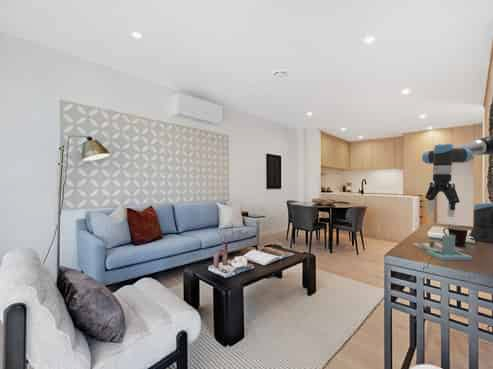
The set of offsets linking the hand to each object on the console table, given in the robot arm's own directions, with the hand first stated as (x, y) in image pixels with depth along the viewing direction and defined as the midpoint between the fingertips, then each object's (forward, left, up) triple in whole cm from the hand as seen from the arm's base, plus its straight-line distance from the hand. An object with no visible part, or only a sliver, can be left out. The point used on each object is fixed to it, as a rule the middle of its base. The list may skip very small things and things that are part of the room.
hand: (440, 214), depth 126 cm
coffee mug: (-21, -15, -21) cm, 34 cm away
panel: (-1, +4, -21) cm, 22 cm away
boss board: (-5, -8, -21) cm, 23 cm away
